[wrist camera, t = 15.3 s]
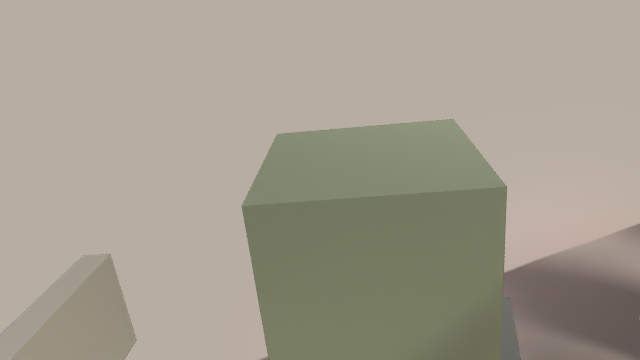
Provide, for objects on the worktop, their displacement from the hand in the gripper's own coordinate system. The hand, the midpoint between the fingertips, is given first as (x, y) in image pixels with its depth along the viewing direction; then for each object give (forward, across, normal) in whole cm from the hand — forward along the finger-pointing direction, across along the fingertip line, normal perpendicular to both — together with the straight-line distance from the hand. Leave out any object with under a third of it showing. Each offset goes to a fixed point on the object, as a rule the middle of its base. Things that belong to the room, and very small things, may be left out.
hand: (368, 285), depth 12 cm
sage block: (+5, 0, -8) cm, 10 cm away
